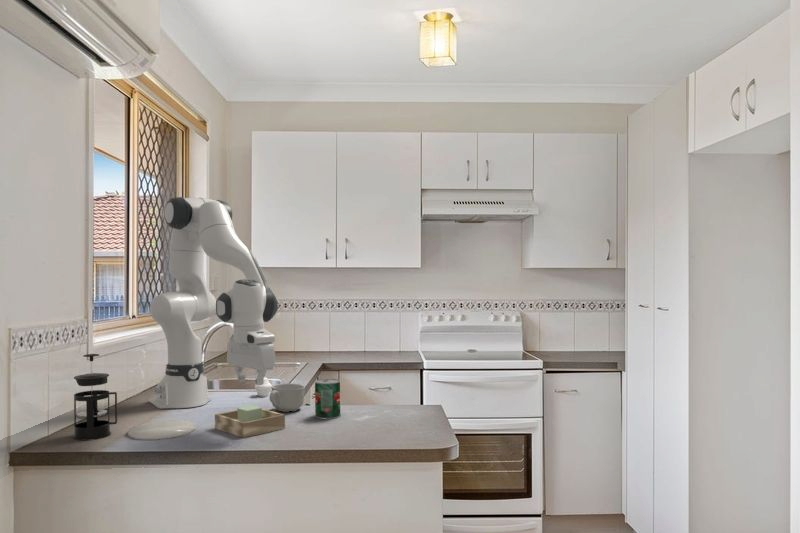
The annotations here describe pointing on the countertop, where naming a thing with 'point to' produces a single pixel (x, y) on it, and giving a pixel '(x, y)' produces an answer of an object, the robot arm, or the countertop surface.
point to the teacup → (287, 396)
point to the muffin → (263, 388)
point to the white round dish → (161, 430)
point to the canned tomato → (327, 398)
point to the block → (249, 413)
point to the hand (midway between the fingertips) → (250, 383)
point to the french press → (92, 406)
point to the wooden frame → (249, 423)
